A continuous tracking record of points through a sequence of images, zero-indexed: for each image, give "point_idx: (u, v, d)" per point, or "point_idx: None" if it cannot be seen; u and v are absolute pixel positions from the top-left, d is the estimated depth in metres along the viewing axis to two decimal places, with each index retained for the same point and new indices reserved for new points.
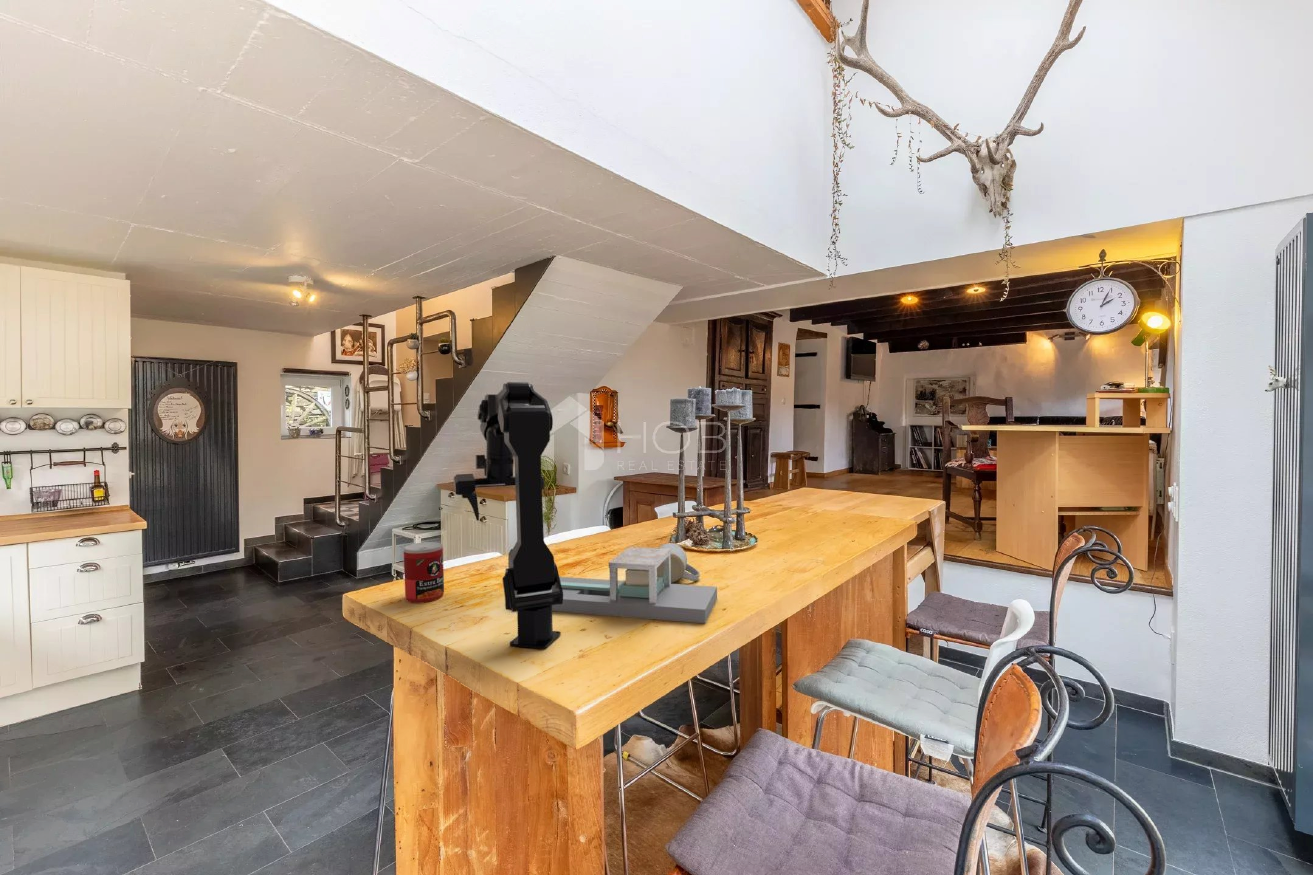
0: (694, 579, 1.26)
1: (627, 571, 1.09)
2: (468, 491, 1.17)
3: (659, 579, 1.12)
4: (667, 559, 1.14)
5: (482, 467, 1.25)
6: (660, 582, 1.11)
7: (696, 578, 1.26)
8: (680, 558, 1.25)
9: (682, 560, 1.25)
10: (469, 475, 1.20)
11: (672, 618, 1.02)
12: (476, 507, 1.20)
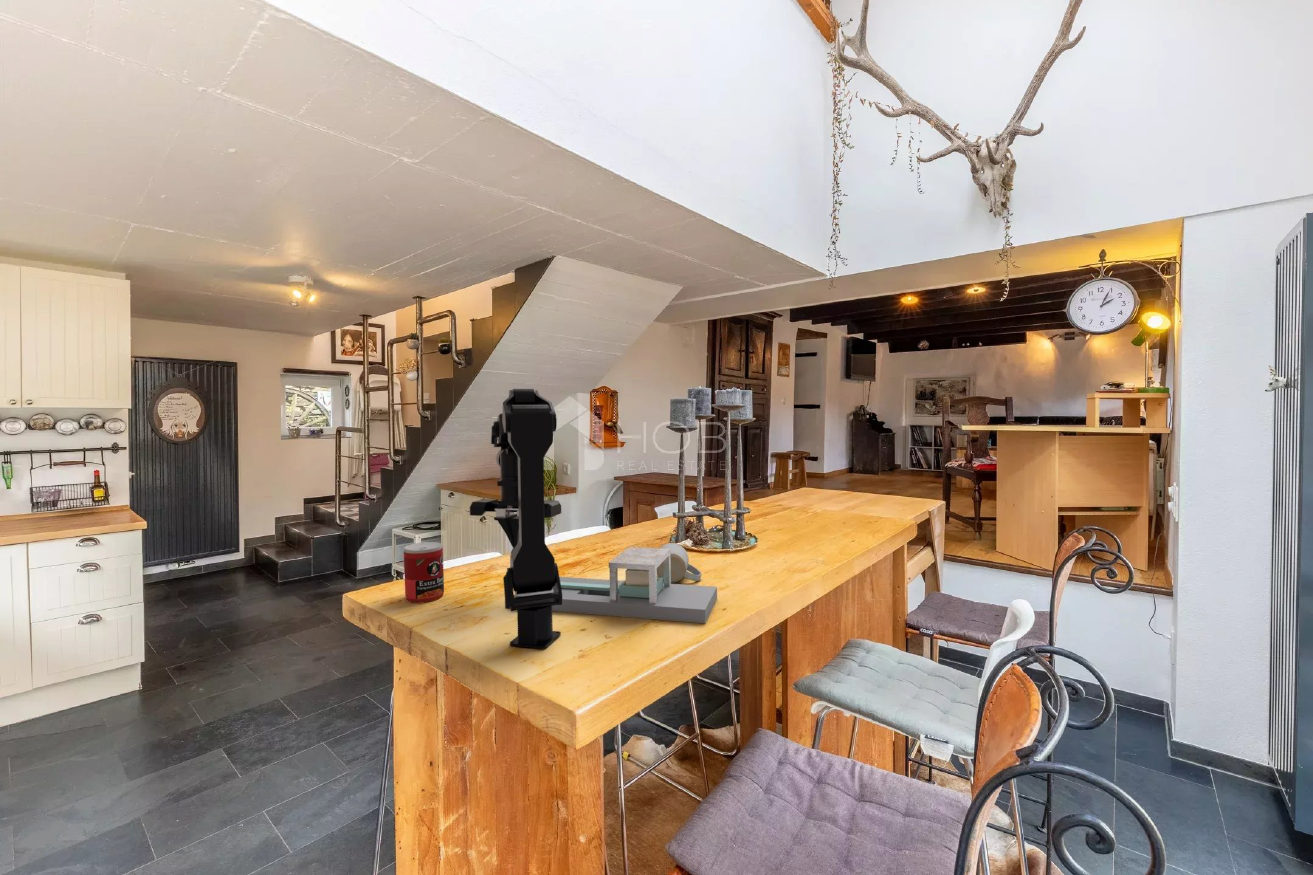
0: (696, 579, 1.26)
1: (627, 571, 1.09)
2: (478, 512, 1.16)
3: (659, 579, 1.12)
4: (667, 559, 1.14)
5: None
6: (660, 582, 1.11)
7: (698, 578, 1.26)
8: (682, 558, 1.25)
9: (684, 560, 1.25)
10: (491, 499, 1.20)
11: (672, 618, 1.02)
12: (508, 532, 1.16)
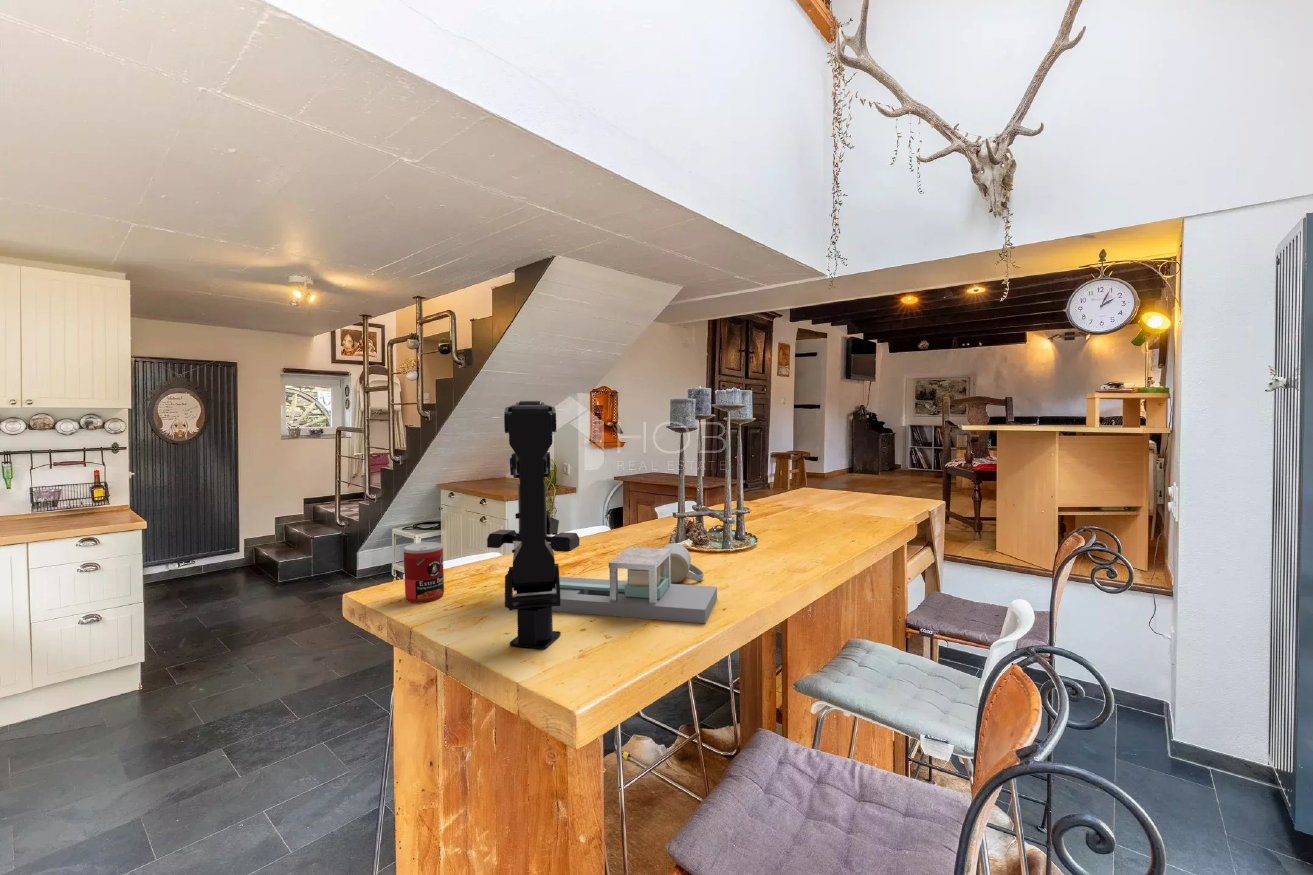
0: (698, 579, 1.26)
1: (630, 571, 1.09)
2: (496, 544, 1.15)
3: (664, 579, 1.12)
4: (667, 559, 1.14)
5: None
6: (665, 582, 1.11)
7: (700, 578, 1.26)
8: (684, 558, 1.25)
9: (686, 560, 1.25)
10: (508, 531, 1.19)
11: (672, 618, 1.02)
12: None
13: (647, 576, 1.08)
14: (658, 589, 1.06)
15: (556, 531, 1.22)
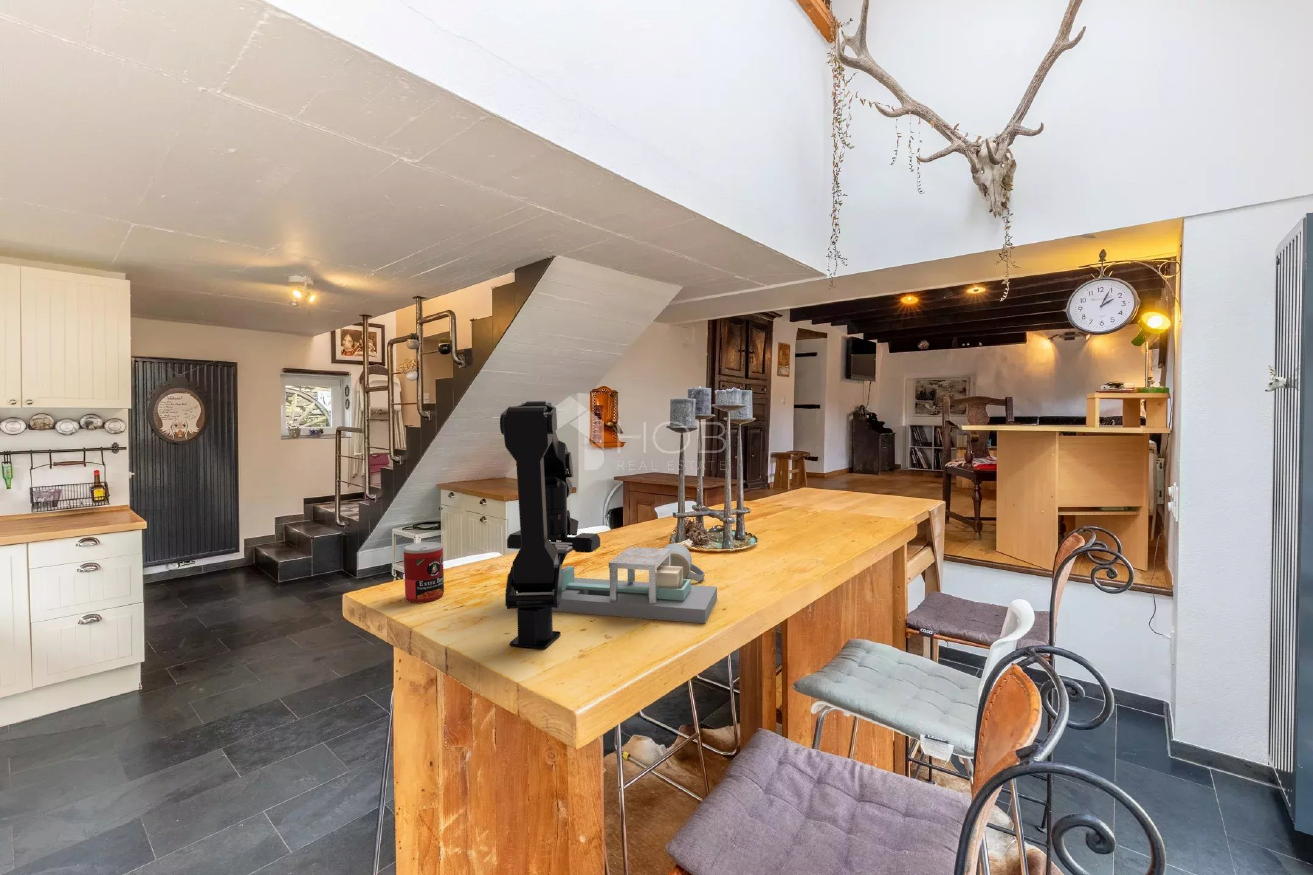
0: (699, 579, 1.26)
1: None
2: (516, 545, 1.14)
3: (687, 581, 1.11)
4: (667, 559, 1.14)
5: None
6: (688, 584, 1.10)
7: (701, 578, 1.26)
8: (685, 558, 1.25)
9: (687, 560, 1.25)
10: None
11: (672, 618, 1.02)
12: None
13: (671, 577, 1.07)
14: (682, 591, 1.05)
15: (576, 532, 1.21)
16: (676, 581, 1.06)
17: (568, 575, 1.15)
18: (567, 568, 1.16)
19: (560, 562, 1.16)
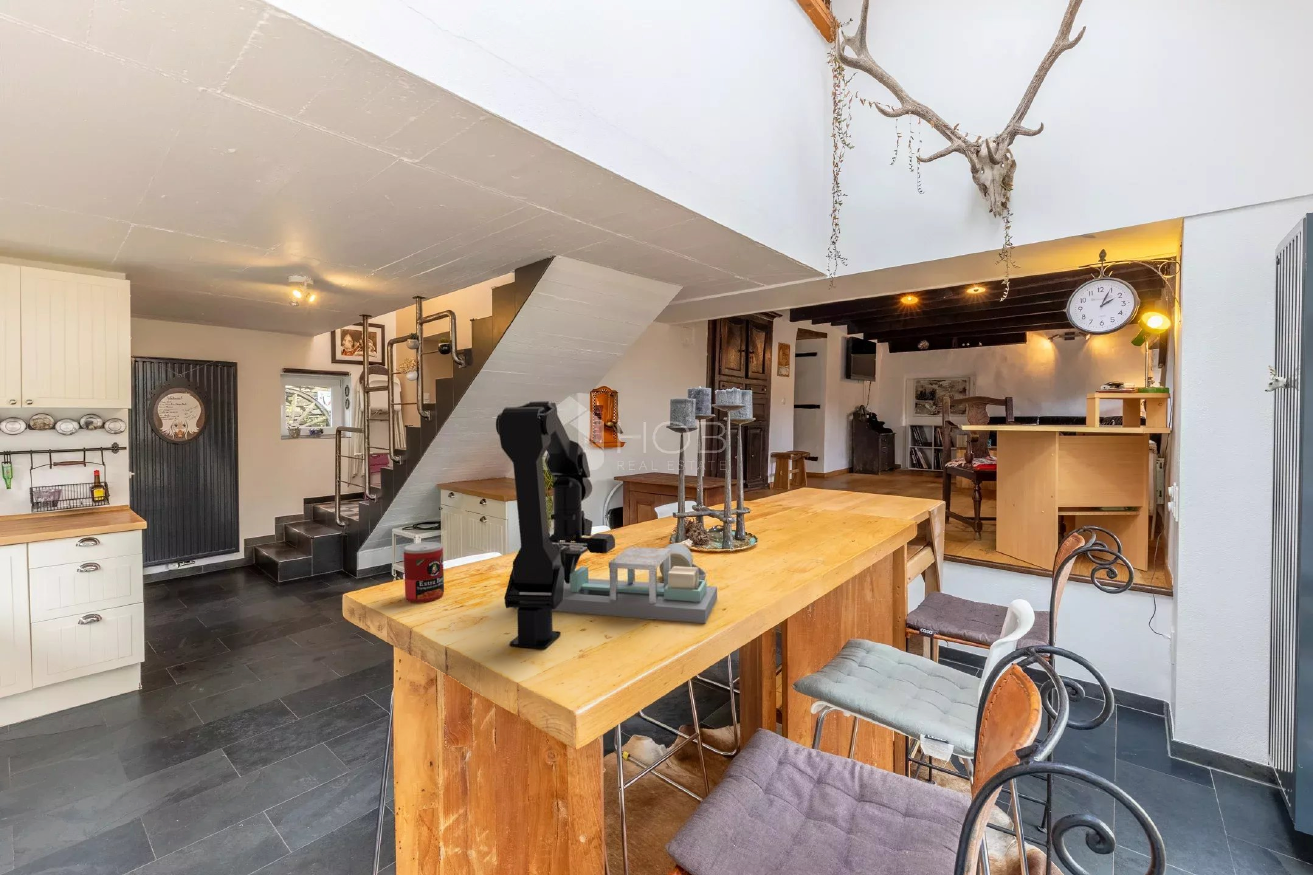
0: (700, 579, 1.26)
1: (670, 574, 1.07)
2: None
3: (703, 582, 1.10)
4: (667, 559, 1.14)
5: None
6: (704, 585, 1.09)
7: (702, 578, 1.26)
8: (686, 558, 1.25)
9: (688, 560, 1.25)
10: None
11: (672, 618, 1.02)
12: None
13: (687, 578, 1.06)
14: (698, 592, 1.04)
15: (590, 532, 1.20)
16: (692, 582, 1.06)
17: (582, 576, 1.14)
18: (581, 569, 1.15)
19: (574, 563, 1.15)
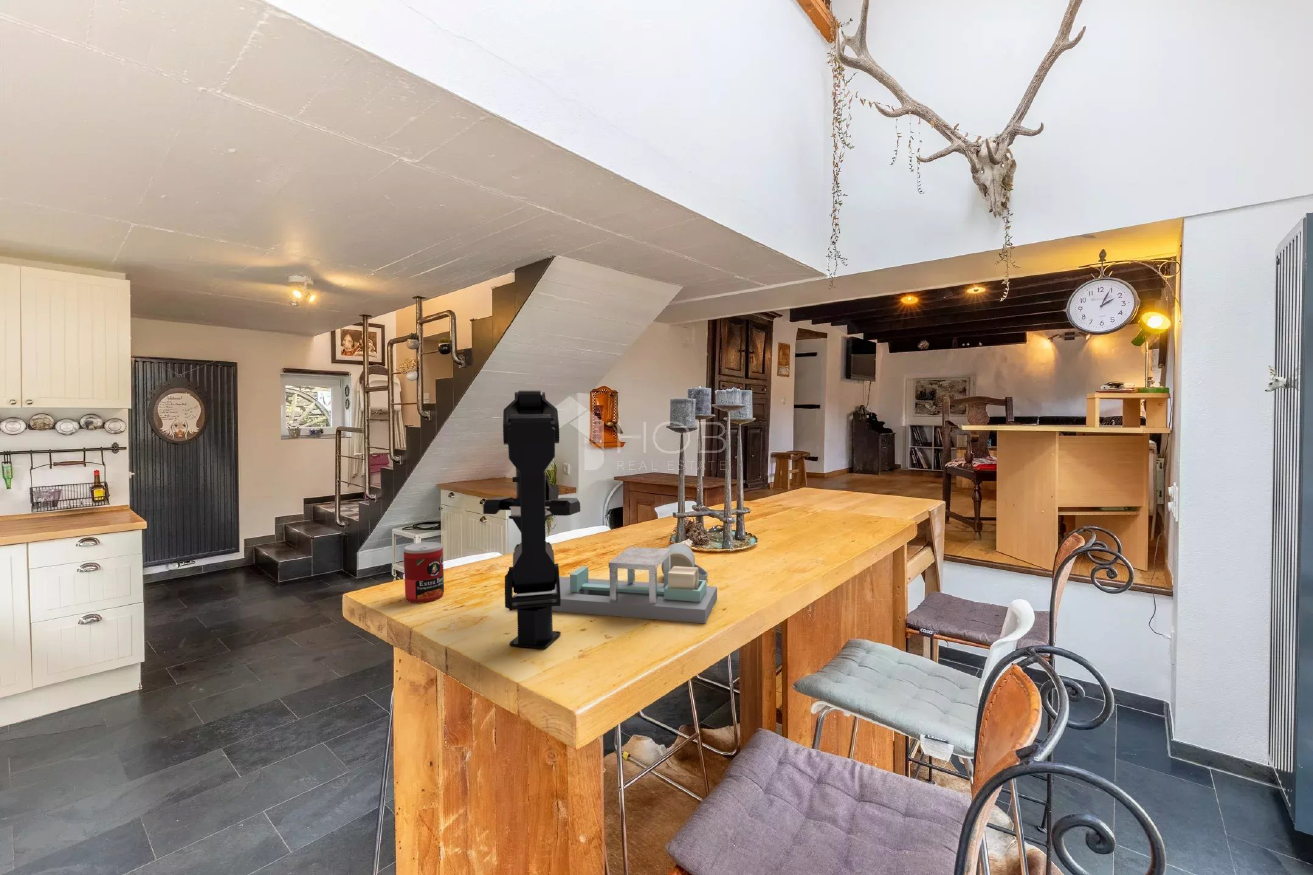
0: (702, 579, 1.26)
1: (670, 574, 1.07)
2: (492, 510, 1.09)
3: (703, 582, 1.10)
4: (667, 559, 1.14)
5: None
6: (704, 585, 1.09)
7: (704, 578, 1.26)
8: (688, 558, 1.25)
9: (690, 560, 1.25)
10: (506, 497, 1.13)
11: (672, 618, 1.02)
12: None
13: (687, 578, 1.06)
14: (698, 592, 1.04)
15: (556, 499, 1.16)
16: (692, 582, 1.06)
17: (582, 576, 1.14)
18: (581, 569, 1.15)
19: None
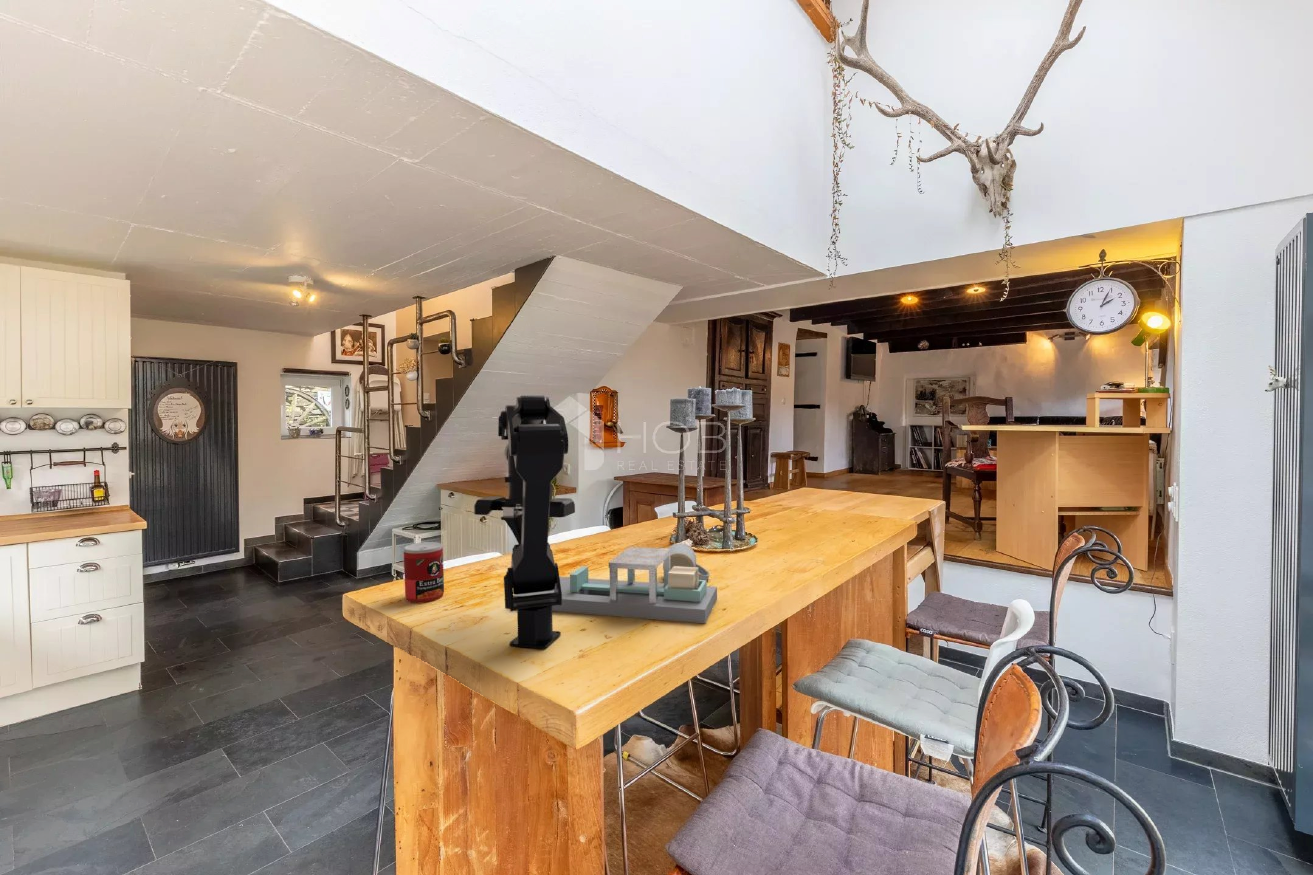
0: (704, 579, 1.26)
1: (670, 574, 1.07)
2: (484, 511, 1.06)
3: (703, 582, 1.10)
4: (667, 559, 1.14)
5: None
6: (704, 585, 1.09)
7: (706, 578, 1.26)
8: (690, 558, 1.25)
9: (692, 560, 1.25)
10: (498, 497, 1.10)
11: (672, 618, 1.02)
12: (517, 533, 1.05)
13: (687, 578, 1.06)
14: (698, 592, 1.04)
15: (550, 498, 1.12)
16: (692, 582, 1.06)
17: (582, 576, 1.14)
18: (581, 569, 1.15)
19: None
